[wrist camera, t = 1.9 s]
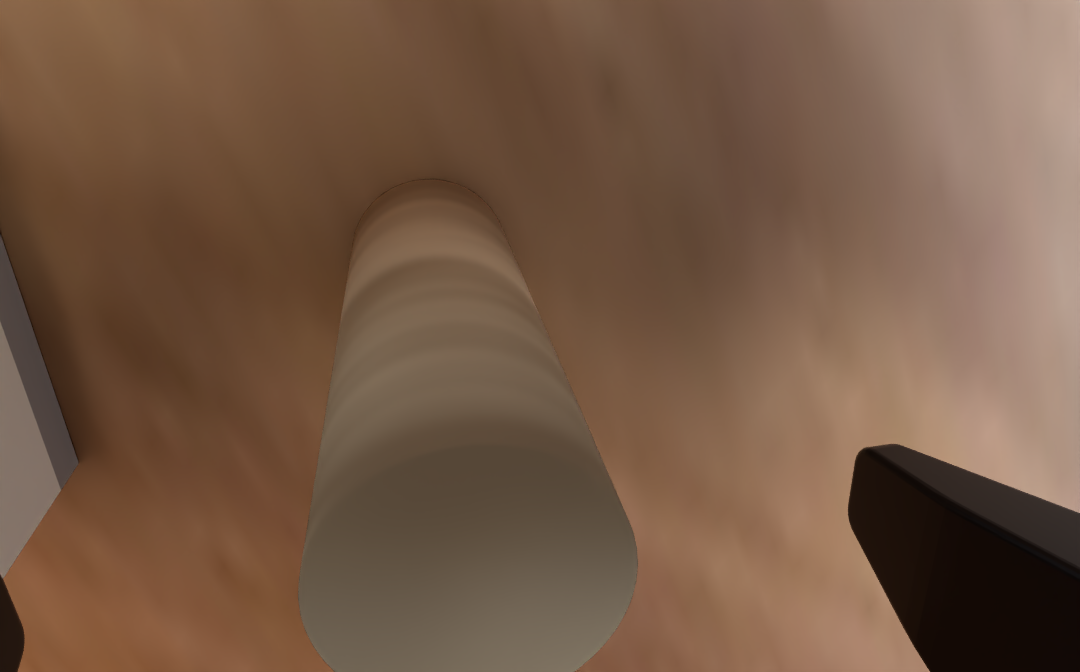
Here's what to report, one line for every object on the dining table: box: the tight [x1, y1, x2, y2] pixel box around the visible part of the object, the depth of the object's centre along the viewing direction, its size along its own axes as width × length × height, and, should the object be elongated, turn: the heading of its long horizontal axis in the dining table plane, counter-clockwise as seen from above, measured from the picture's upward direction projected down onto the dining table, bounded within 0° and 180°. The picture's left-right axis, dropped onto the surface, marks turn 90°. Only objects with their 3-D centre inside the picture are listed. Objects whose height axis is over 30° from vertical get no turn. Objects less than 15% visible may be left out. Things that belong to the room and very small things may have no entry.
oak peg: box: [298, 179, 638, 672], centre depth 12 cm, size 3×3×10 cm
